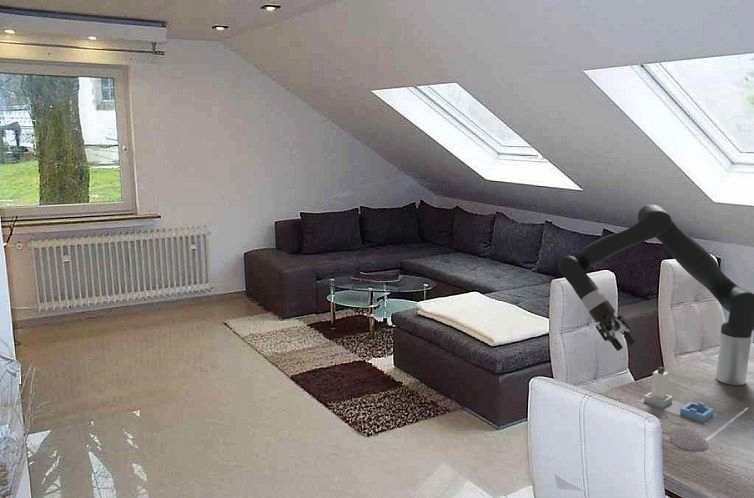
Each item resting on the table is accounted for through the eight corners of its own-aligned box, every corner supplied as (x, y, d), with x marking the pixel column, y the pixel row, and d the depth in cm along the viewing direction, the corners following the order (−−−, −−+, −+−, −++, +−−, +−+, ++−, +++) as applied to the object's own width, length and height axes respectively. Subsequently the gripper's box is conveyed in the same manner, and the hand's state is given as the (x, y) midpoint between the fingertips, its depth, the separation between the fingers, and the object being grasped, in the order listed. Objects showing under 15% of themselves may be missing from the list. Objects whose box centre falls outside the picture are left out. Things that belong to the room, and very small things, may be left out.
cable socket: (637, 403, 199) (638, 393, 199) (650, 395, 205) (651, 385, 205) (705, 426, 184) (706, 415, 183) (717, 417, 190) (719, 406, 189)
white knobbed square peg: (650, 401, 199) (653, 367, 197) (655, 398, 201) (658, 364, 199) (660, 405, 196) (664, 370, 194) (665, 402, 199) (668, 368, 196)
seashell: (683, 420, 182) (715, 427, 173) (685, 439, 182) (717, 447, 173) (660, 427, 177) (691, 435, 168) (661, 446, 177) (693, 455, 168)
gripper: (594, 303, 204) (624, 346, 197) (616, 296, 213) (645, 336, 207) (578, 315, 209) (607, 357, 202) (600, 307, 218) (629, 347, 212)
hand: (626, 346), depth 205 cm, fingers open, 8 cm apart
